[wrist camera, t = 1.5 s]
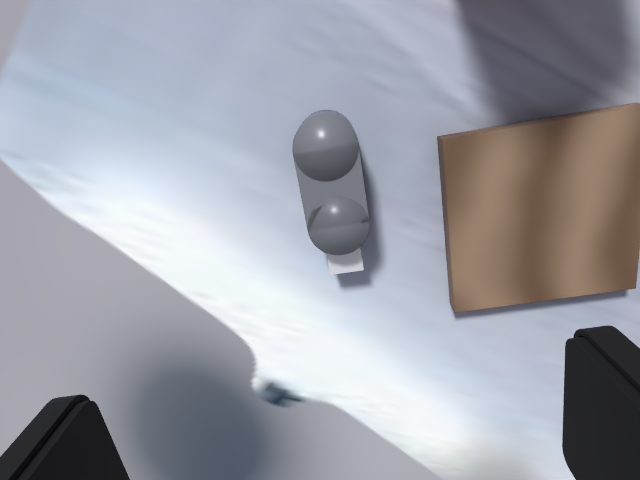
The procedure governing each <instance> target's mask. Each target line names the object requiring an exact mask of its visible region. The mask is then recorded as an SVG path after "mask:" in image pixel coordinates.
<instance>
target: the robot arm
mask: <svg viewBox="0 0 640 480" xmlns="http://www.w3.org/2000/svg"><path fill="white" fill-rule="evenodd" d="M562 447H563V454H564V457H565V461H566V463H567V465H568V467H569V469H570V471H571V472H572V474H573V476H574V477H575V479H576V480H640V348H638V347H637V346H636V345H635V344H634V343H633V342H632V341H630V340H629V339H628V338H627V337H626V336H625V335H623V334H622V333H621V332H620V331H619V330H618V329H616V328H615V327H613V326H601V327H593V328H586V329H579V330H577V331H576V332H575V334H574V338H571V339H568V340H567V341H566V346H565V378H564V411H563V444H562ZM0 480H130V479H129V477H128V474H127V472H126V470H125V467H124V466H123V463H122V461H121V458H120V456H119V454H118V451H117V449H116V447H115V445H114V442H113V440H112V438H111V435H110V433H109V431H108V429H107V426H106V424H105V422H104V419H103V417H102V415H101V412H100V410H99V408H98V406H97V404H96V403H95V402H94V401H90V400H89V398H88V397H87V396H85V395H75V396H67V397H59V398H55V399H52V400H51V401H50V402H48V403H47V404H46V405H45V407H44V408H43V409H42V410H41V411H40V412H39V413H38V415H37V416H36V417H35V418H34V419H33V420H32V422H31V423H30V424H29V425H28V426H27V427H26V428H25V429H24V431H23V432H22V433H21V434H20V435H19V436H18V437H17V439H16V440H15V441H14V442H13V443H12V444H11V445H10V447H9V448H8V449H7V450H6V451H5V452H4V453H3V455H2V456H1V457H0Z"/></svg>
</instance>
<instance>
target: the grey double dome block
mask: <svg viewBox="0 0 640 480" xmlns="http://www.w3.org/2000/svg"><path fill="white" fill-rule="evenodd" d="M293 157H294V162H295V167H296V172H297V177H298V182H299V188H300V193H301V198H302V203H303V208H304V214H305V219H306V224H307V229H308V233H309V236H310V239H311V240H312V242H313V243H314V245H315V246H316V247H317V248H319V249H320V250H321V251H323V252H325V253H326V254H327V260H328V265H329V271H330V275H334V274H341V273H348V272H355V271H362V270H364V268H363V261H362V255H361V248H360V247H361V246H362V245H363V243H364V242H365V241H366V239H367V237H368V234H369V229H370V223H369V215H368V208H367V201H366V194H365V186H364V179H363V172H362V165H361V158H360V151H359V143H358V139H357V136H356V133H355V131H354V129H353V127H352V125H351V123H350V122H349V120H348V119H347V118H346V117H344V116H343V115H342V114H340V113H338V112H335V111H331V110H322V111H318V112H315V113H313V114H311V115H310V116H309V117H307V118H306V119H305V121H304V122H303V123H302V125H301V126H300V128H299V129H298V131H297V132H296V135H295V137H294V140H293Z"/></svg>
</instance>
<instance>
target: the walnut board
mask: <svg viewBox="0 0 640 480" xmlns="http://www.w3.org/2000/svg"><path fill="white" fill-rule="evenodd" d="M437 139H438V153H439V166H440V179H441V192H442V205H443V218H444V231H445V244H446V258H447V271H448V284H449V297H450V304H451V306H452V308H453V310H454V312H455V313H457V312H464V311H472V310H479V309H486V308H494V307H501V306H509V305H516V304H524V303H531V302H539V301H546V300H553V299H561V298H568V297H576V296H583V295H591V294H598V293H605V292H613V291H620V290H628V289H635V288H636V281H637V270H638V259H639V248H640V103H632V104H626V105H620V106H614V107H609V108H603V109H597V110H591V111H585V112H579V113H573V114H567V115H561V116H555V117H549V118H544V119H538V120H532V121H526V122H520V123H514V124H508V125H502V126H496V127H490V128H484V129H479V130H473V131H467V132H461V133H455V134H449V135H443V136H437Z"/></svg>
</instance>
